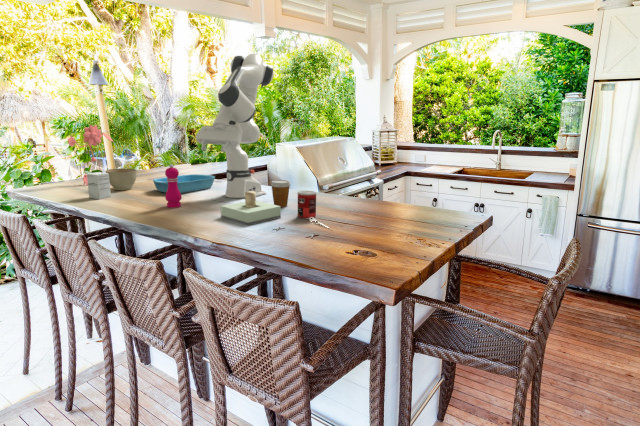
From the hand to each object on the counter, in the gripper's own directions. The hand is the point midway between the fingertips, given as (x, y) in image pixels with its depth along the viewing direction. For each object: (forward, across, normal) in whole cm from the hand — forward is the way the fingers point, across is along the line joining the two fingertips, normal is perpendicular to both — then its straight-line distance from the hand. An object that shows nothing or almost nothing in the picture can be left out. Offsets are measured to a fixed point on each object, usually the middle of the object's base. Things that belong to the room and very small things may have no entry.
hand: (212, 150), depth 186 cm
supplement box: (+14, -70, +27) cm, 77 cm away
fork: (+24, +52, +15) cm, 59 cm away
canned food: (+15, +41, +24) cm, 50 cm away
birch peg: (+21, +19, +16) cm, 33 cm away
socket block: (+22, +19, +17) cm, 34 cm away
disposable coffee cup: (+3, +23, +36) cm, 43 cm away
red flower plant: (-8, -100, +50) cm, 112 cm away
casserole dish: (-12, -44, +52) cm, 69 cm away
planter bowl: (-3, -76, +45) cm, 89 cm away
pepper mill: (+17, -24, +23) cm, 37 cm away
